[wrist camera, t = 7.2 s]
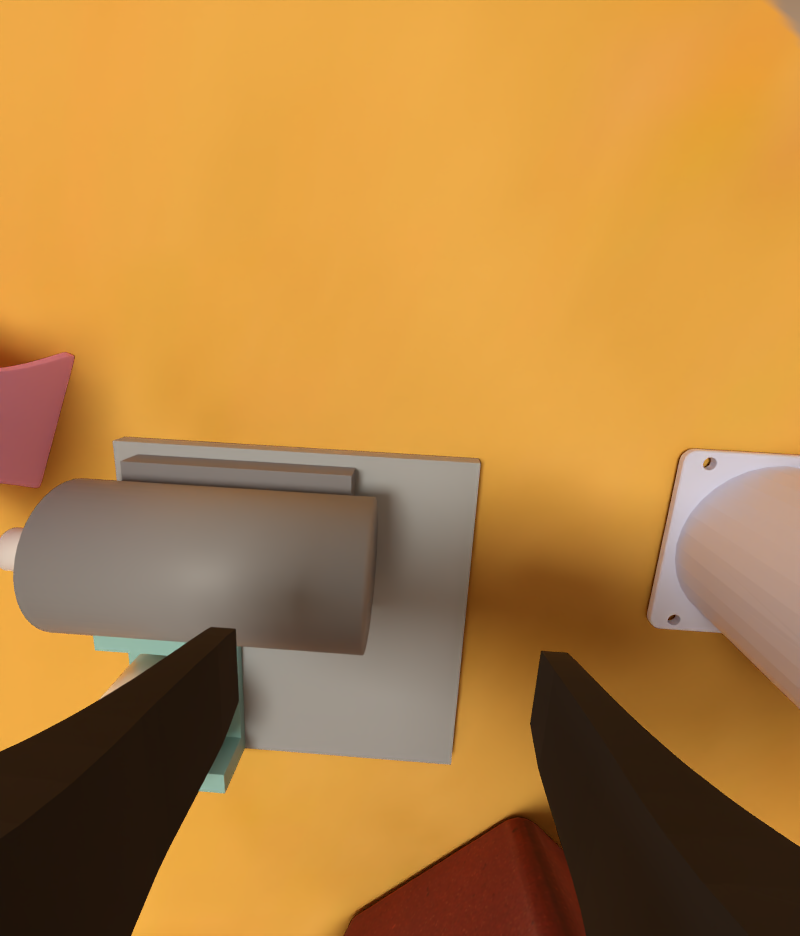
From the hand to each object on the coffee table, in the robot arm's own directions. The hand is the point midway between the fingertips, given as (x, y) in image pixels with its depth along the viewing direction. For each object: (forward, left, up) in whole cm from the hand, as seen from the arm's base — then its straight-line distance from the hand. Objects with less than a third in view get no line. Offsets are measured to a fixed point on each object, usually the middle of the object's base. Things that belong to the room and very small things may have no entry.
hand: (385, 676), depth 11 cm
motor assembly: (+6, +5, -10) cm, 12 cm away
